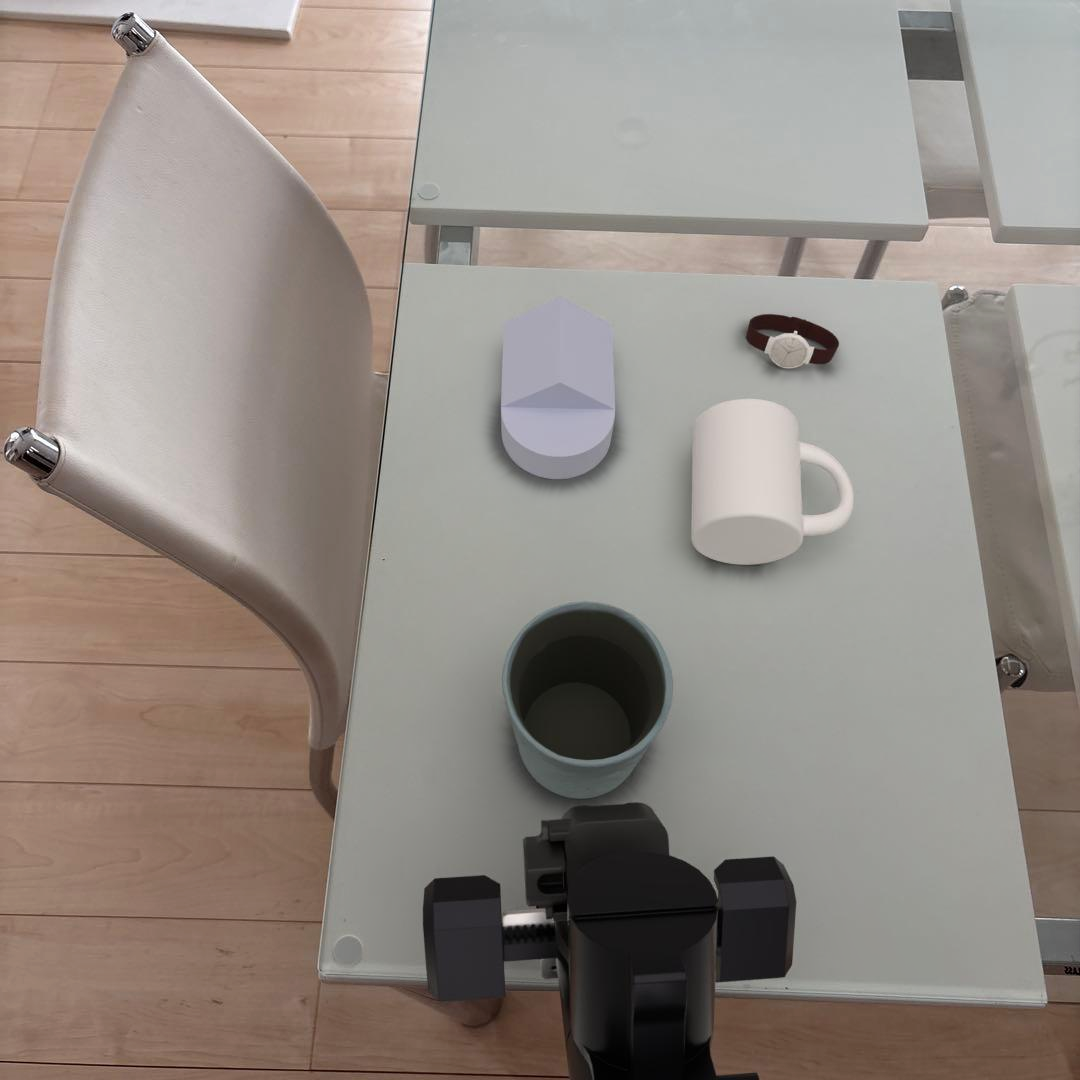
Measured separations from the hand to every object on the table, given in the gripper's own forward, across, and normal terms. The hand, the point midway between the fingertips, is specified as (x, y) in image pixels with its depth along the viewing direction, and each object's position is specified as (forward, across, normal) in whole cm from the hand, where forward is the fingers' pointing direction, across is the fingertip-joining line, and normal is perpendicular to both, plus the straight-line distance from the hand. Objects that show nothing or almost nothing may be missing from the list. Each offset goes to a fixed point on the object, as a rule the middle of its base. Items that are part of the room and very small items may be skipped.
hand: (590, 832), depth 57 cm
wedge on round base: (+30, -1, -20) cm, 36 cm away
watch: (+34, -21, -24) cm, 46 cm away
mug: (+23, -16, -12) cm, 30 cm away
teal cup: (+10, 0, 0) cm, 10 cm away
